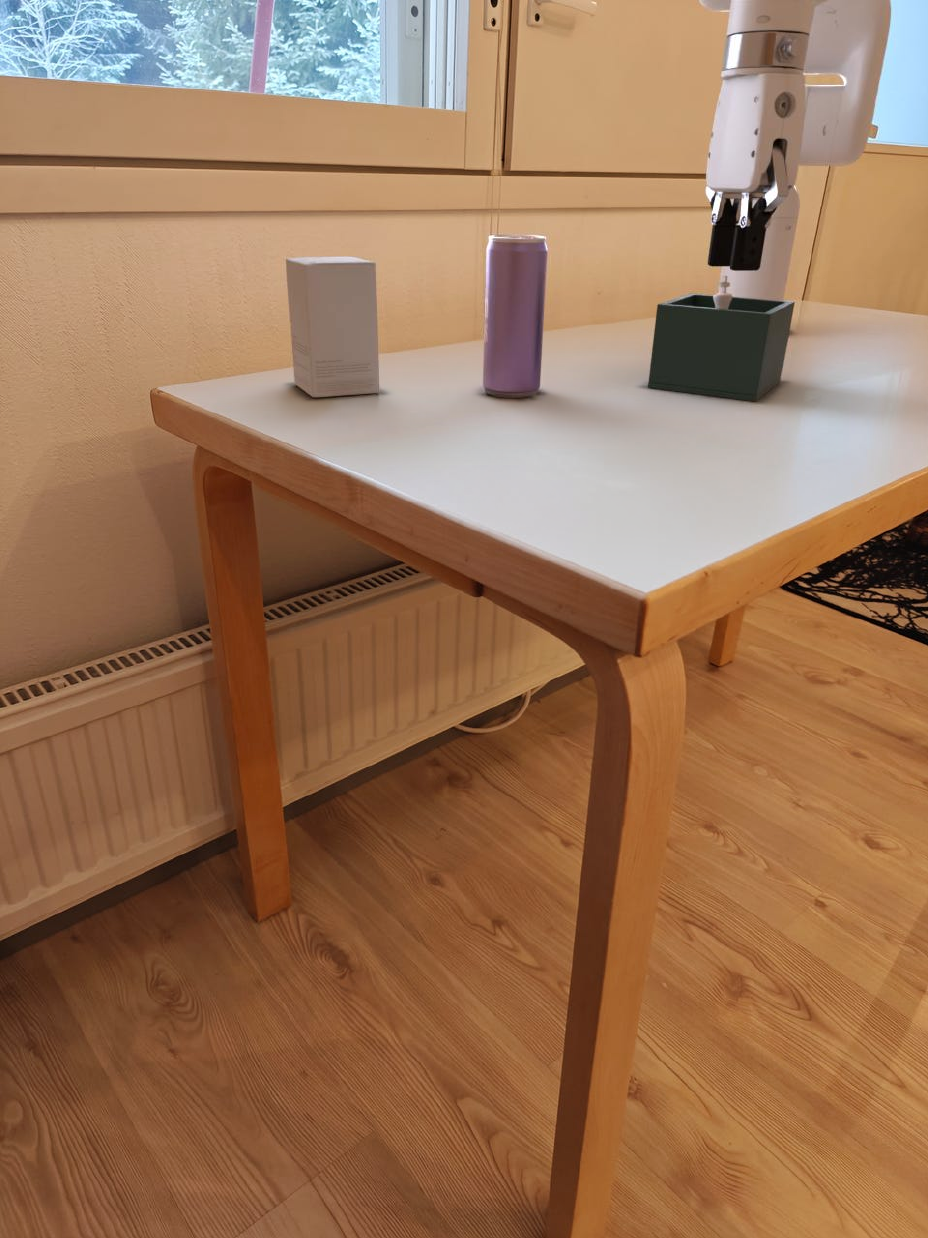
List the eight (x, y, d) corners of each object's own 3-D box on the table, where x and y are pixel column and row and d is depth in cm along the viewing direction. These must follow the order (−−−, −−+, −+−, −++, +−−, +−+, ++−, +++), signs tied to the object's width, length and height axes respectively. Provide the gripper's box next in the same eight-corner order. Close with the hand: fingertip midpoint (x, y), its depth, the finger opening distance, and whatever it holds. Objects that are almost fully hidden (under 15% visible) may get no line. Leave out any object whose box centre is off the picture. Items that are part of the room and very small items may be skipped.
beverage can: (541, 399, 88) (550, 238, 81) (482, 398, 88) (486, 237, 81) (537, 386, 93) (546, 234, 86) (482, 385, 93) (486, 233, 86)
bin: (680, 369, 103) (690, 293, 99) (780, 381, 98) (794, 301, 94) (647, 387, 94) (657, 304, 90) (755, 401, 89) (770, 313, 85)
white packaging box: (381, 393, 89) (378, 261, 83) (311, 399, 86) (302, 262, 80) (359, 379, 95) (354, 254, 89) (292, 384, 92) (283, 256, 86)
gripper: (854, 52, 75) (811, 276, 84) (751, 70, 90) (723, 260, 98) (779, 47, 74) (743, 277, 82) (686, 67, 88) (663, 260, 96)
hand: (733, 266), depth 90 cm, fingers open, 3 cm apart
